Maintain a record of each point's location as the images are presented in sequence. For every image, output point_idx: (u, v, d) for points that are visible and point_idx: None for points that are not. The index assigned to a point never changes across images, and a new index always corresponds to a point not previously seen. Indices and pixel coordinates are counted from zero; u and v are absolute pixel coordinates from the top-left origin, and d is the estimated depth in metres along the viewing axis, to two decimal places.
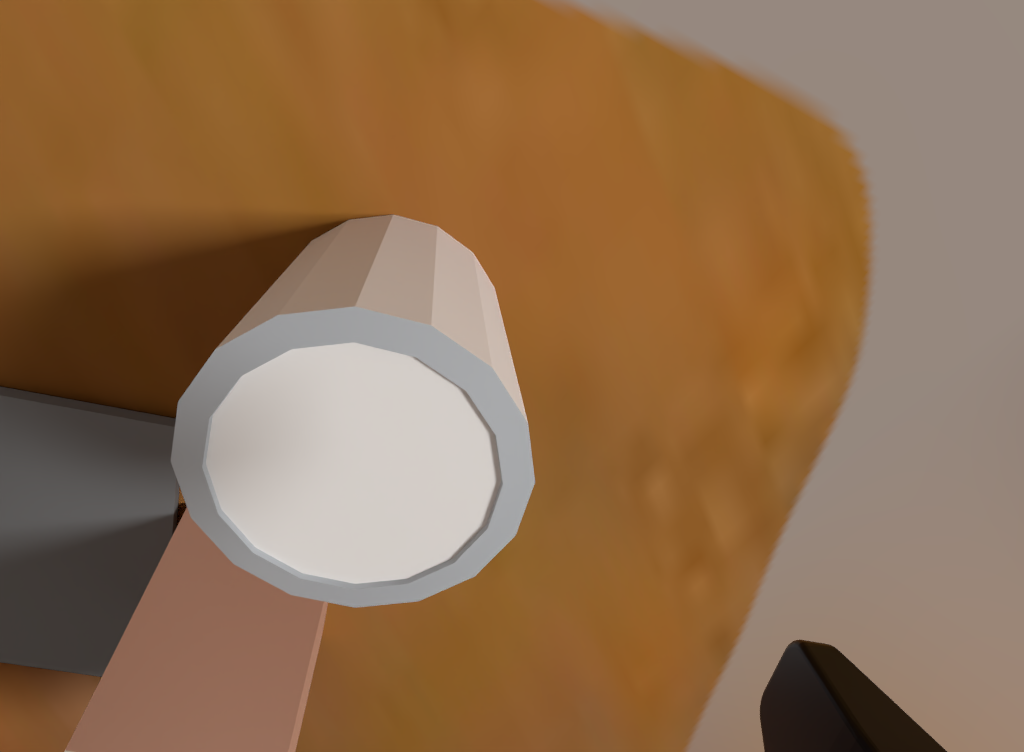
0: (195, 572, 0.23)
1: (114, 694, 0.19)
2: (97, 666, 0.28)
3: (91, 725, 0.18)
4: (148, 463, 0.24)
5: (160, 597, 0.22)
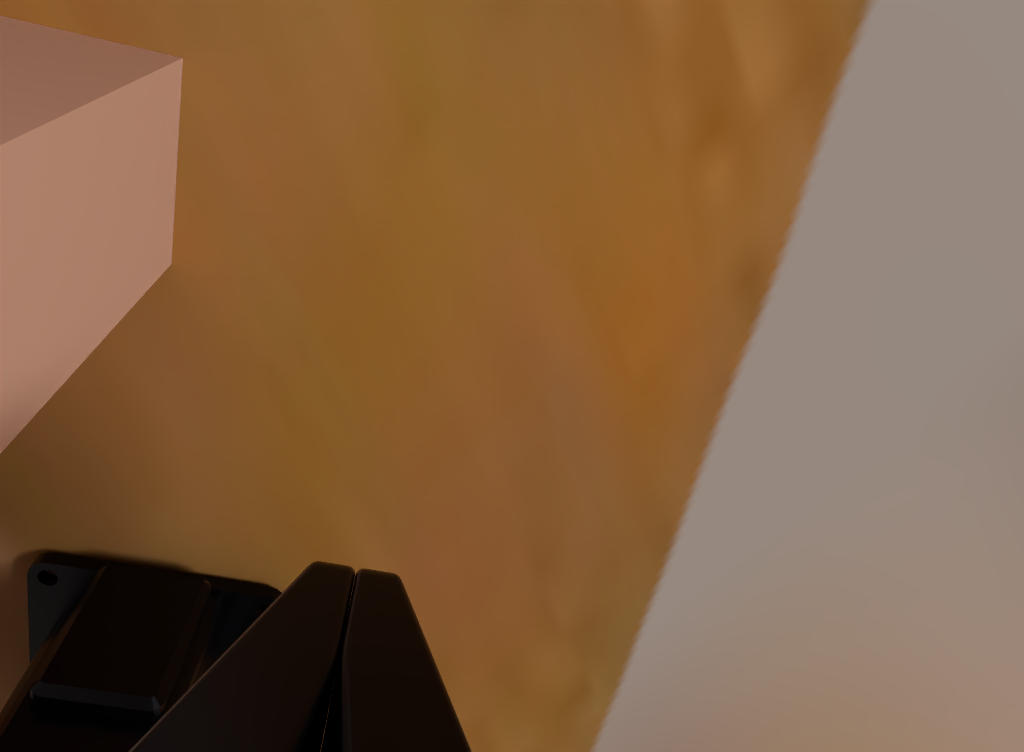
0: None
1: None
2: None
3: None
4: None
5: None
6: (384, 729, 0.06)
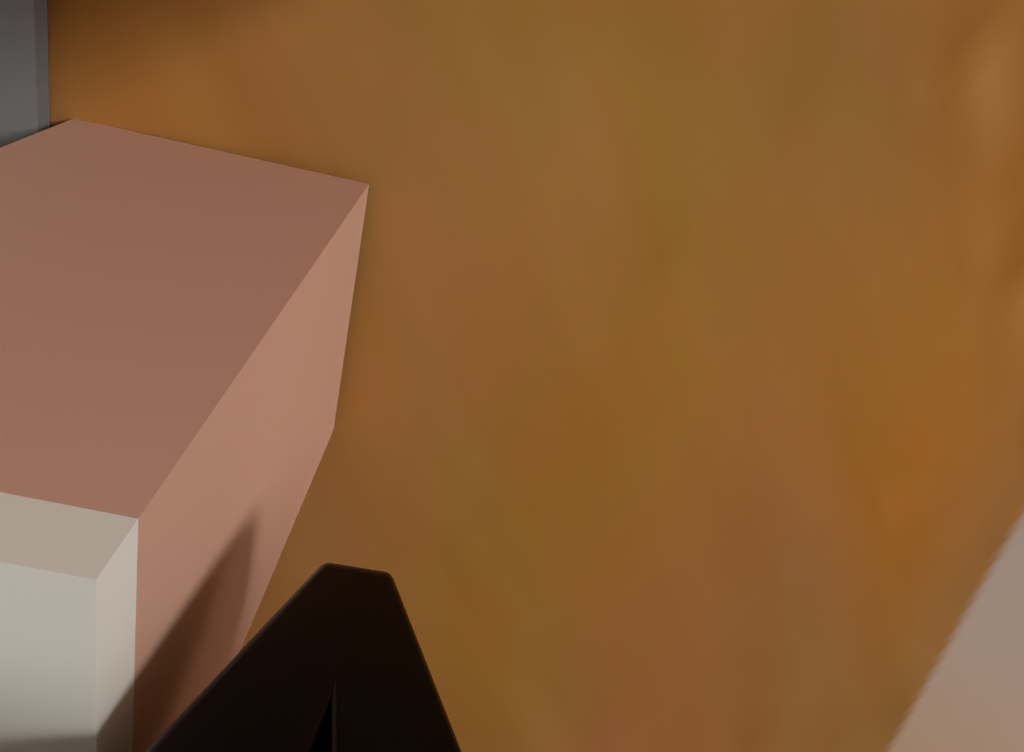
0: (46, 181, 0.10)
1: None
2: None
3: None
4: None
5: None
6: (373, 727, 0.06)
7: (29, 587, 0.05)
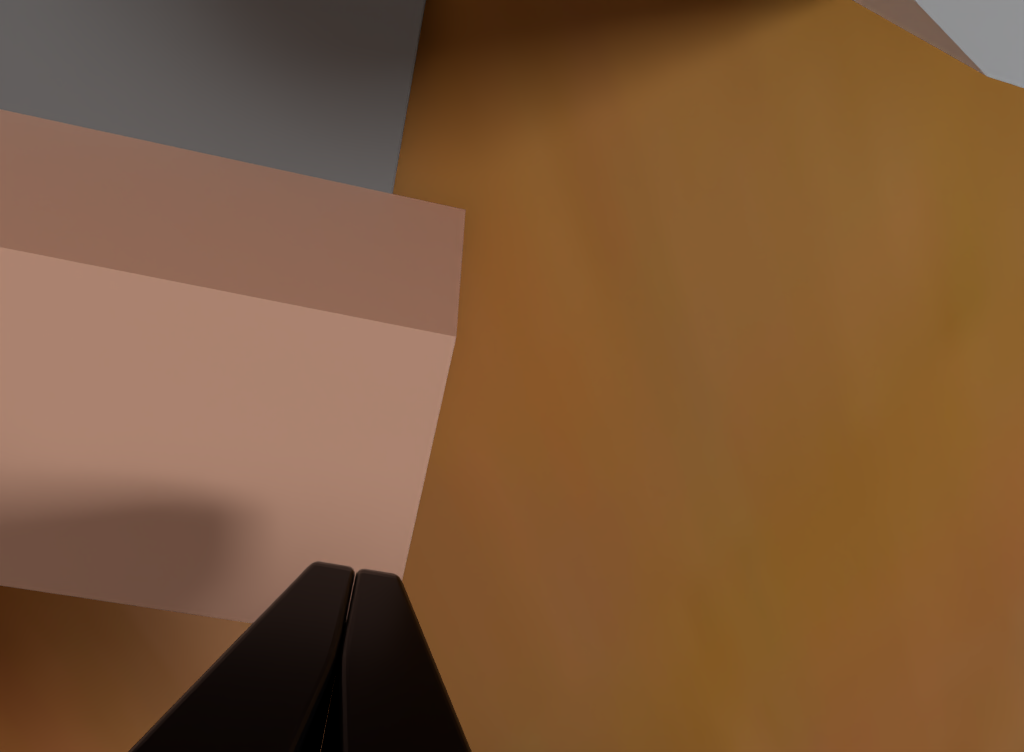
0: (261, 187, 0.12)
1: None
2: None
3: None
4: (354, 79, 0.12)
5: (193, 160, 0.12)
6: (384, 729, 0.06)
7: None
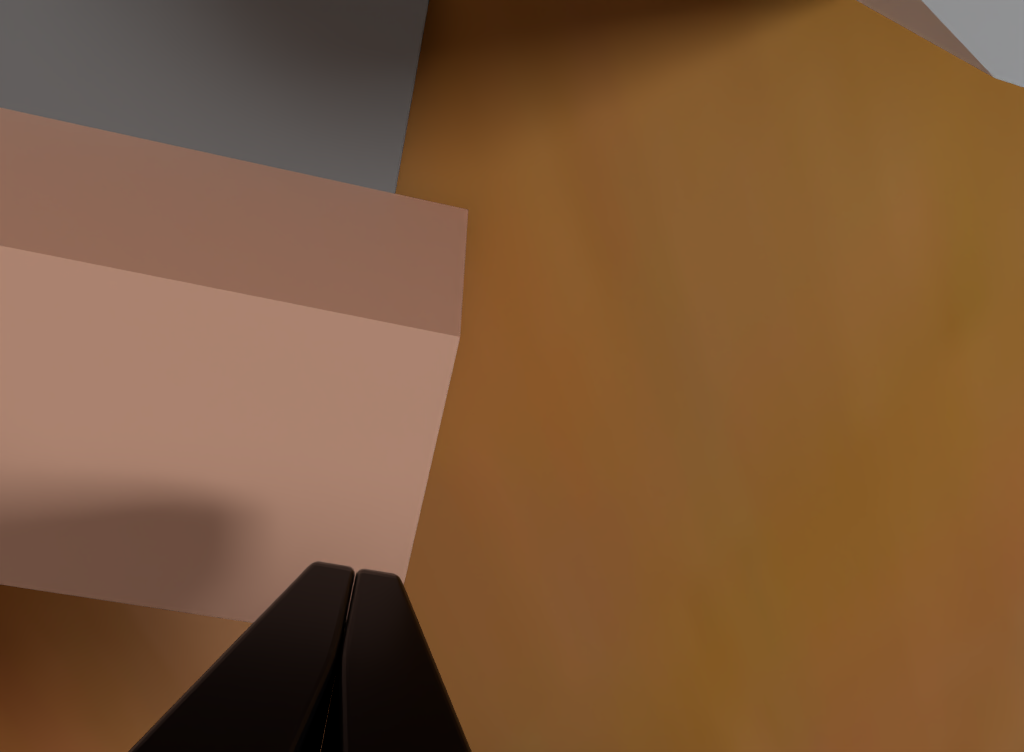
0: (264, 187, 0.12)
1: None
2: None
3: None
4: (358, 79, 0.12)
5: (196, 159, 0.12)
6: (384, 729, 0.06)
7: None
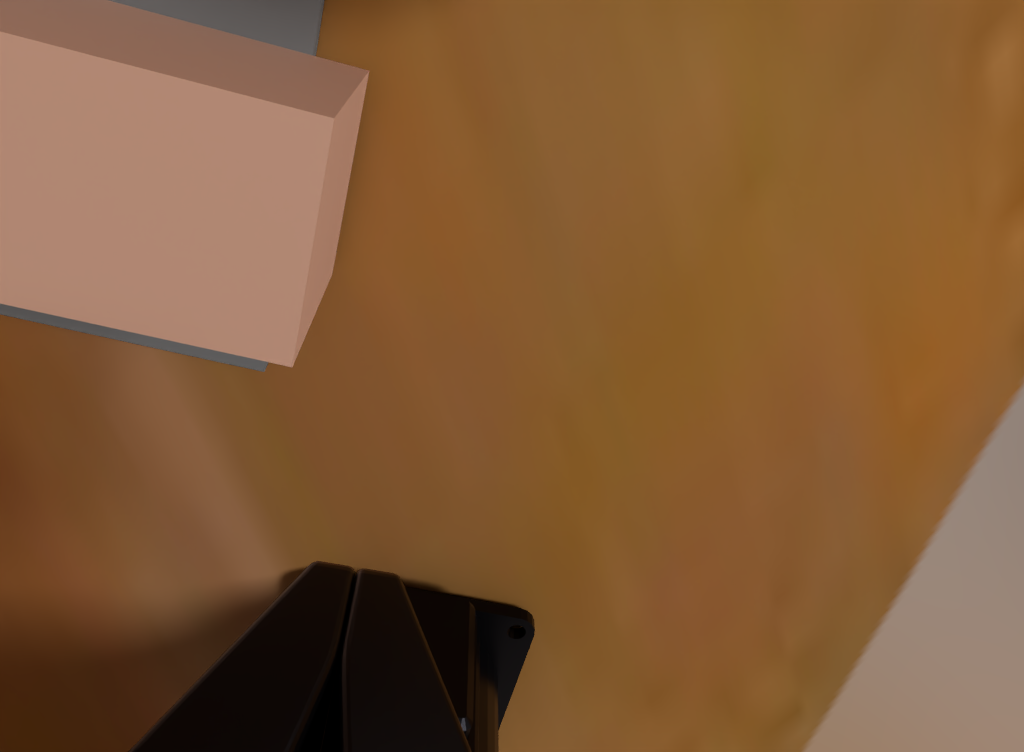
0: (211, 38, 0.16)
1: None
2: None
3: None
4: None
5: (162, 19, 0.16)
6: (384, 729, 0.06)
7: None
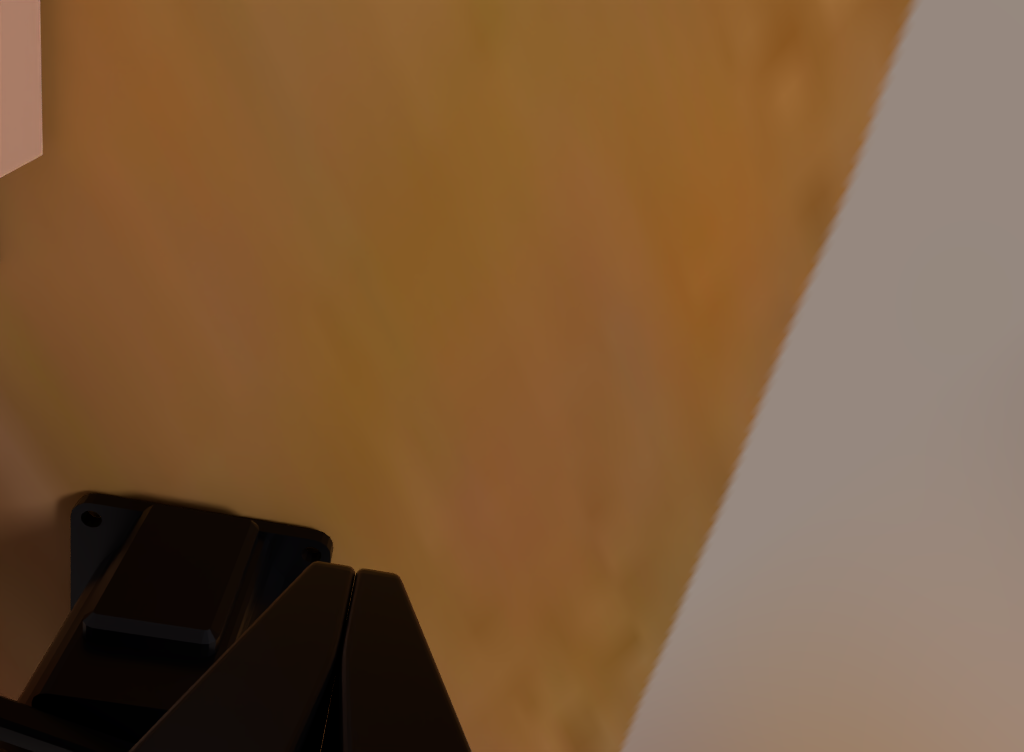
0: None
1: None
2: None
3: None
4: None
5: None
6: (384, 729, 0.06)
7: None
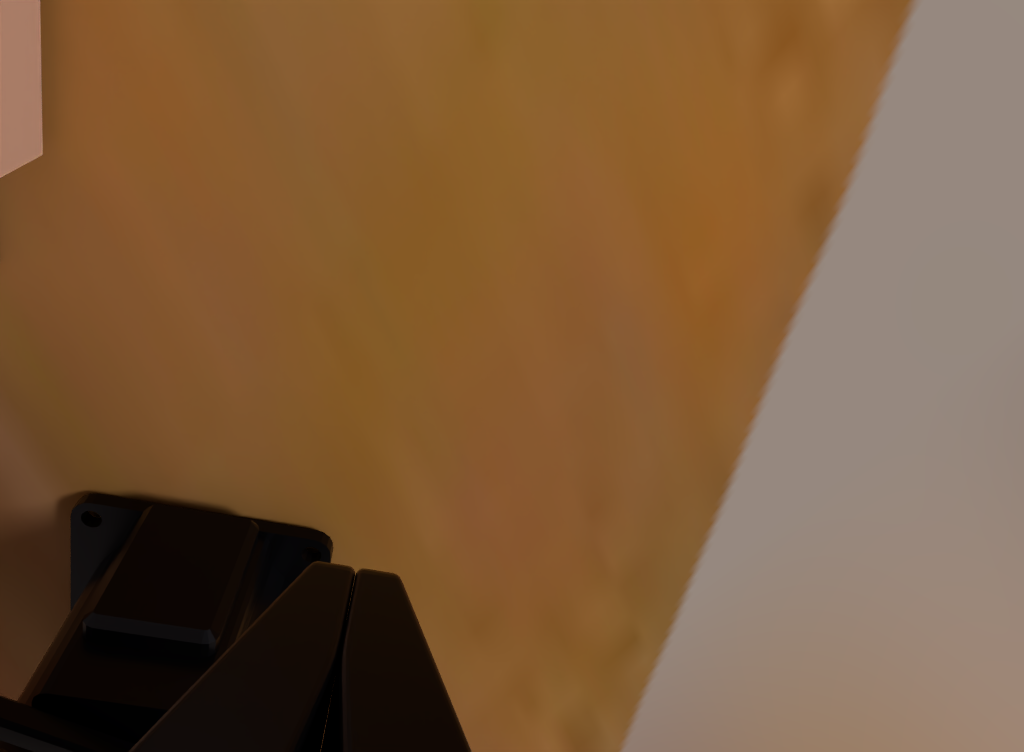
0: None
1: None
2: None
3: None
4: None
5: None
6: (384, 729, 0.06)
7: None
